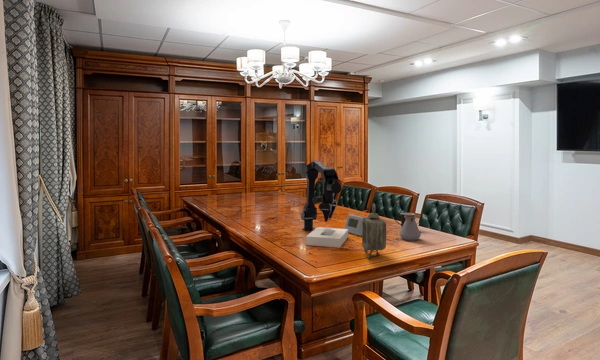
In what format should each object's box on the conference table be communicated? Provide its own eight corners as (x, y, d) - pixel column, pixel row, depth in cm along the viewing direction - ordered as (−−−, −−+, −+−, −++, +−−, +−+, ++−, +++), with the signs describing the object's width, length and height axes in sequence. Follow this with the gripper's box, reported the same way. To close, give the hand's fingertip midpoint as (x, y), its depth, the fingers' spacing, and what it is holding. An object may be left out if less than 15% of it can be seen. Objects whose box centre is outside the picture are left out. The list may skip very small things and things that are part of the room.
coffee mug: (416, 229, 235) (416, 213, 234) (412, 231, 228) (412, 215, 227) (397, 227, 241) (398, 211, 240) (393, 229, 234) (393, 213, 233)
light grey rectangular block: (325, 238, 208) (325, 228, 207) (332, 239, 207) (332, 228, 206) (323, 240, 204) (323, 229, 203) (330, 240, 203) (330, 230, 202)
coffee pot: (398, 236, 216) (399, 210, 215) (419, 237, 214) (420, 211, 213) (400, 245, 196) (401, 217, 194) (423, 247, 193) (424, 218, 192)
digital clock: (342, 231, 229) (342, 214, 228) (355, 230, 232) (356, 213, 231) (355, 237, 214) (356, 218, 213) (369, 236, 217) (369, 217, 216)
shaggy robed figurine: (361, 251, 185) (362, 200, 182) (380, 251, 184) (381, 201, 182) (366, 260, 170) (367, 205, 168) (386, 260, 170) (387, 205, 168)
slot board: (317, 234, 219) (317, 227, 219) (348, 237, 214) (348, 229, 214) (305, 244, 197) (305, 236, 196) (339, 247, 191) (339, 238, 191)
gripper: (318, 189, 214) (318, 216, 215) (309, 192, 196) (309, 222, 198) (337, 189, 211) (337, 217, 212) (330, 193, 193) (329, 223, 194)
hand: (328, 220), depth 204 cm, fingers open, 9 cm apart
